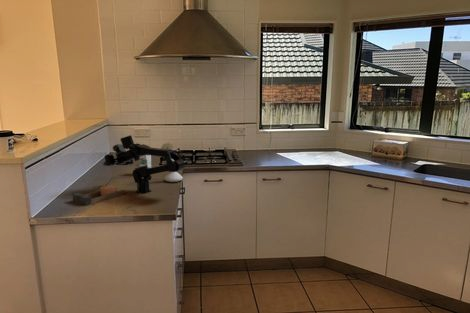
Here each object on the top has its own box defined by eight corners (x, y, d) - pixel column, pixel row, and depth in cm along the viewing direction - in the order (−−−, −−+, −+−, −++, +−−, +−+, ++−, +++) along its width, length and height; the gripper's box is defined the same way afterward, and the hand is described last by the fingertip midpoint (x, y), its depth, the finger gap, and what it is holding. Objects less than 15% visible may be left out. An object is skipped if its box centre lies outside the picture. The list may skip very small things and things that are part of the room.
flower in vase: (182, 178, 231) (182, 140, 226) (183, 183, 220) (182, 143, 215) (162, 178, 229) (161, 140, 224) (161, 183, 218) (160, 143, 213)
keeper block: (117, 194, 196) (116, 186, 195) (108, 197, 191) (107, 189, 190) (110, 192, 199) (109, 185, 198) (100, 195, 194) (100, 187, 194)
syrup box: (139, 175, 238) (138, 153, 235) (144, 173, 243) (144, 152, 241) (146, 175, 236) (146, 154, 233) (151, 173, 241) (151, 153, 239)
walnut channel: (124, 193, 197) (124, 186, 196) (86, 205, 178) (85, 197, 177) (111, 190, 203) (111, 183, 202) (73, 201, 183) (72, 194, 183)
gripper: (136, 142, 211) (118, 151, 218) (112, 142, 195) (93, 151, 202) (141, 160, 210) (122, 168, 217) (117, 161, 193) (98, 170, 200)
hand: (109, 164), depth 209 cm, fingers open, 9 cm apart
